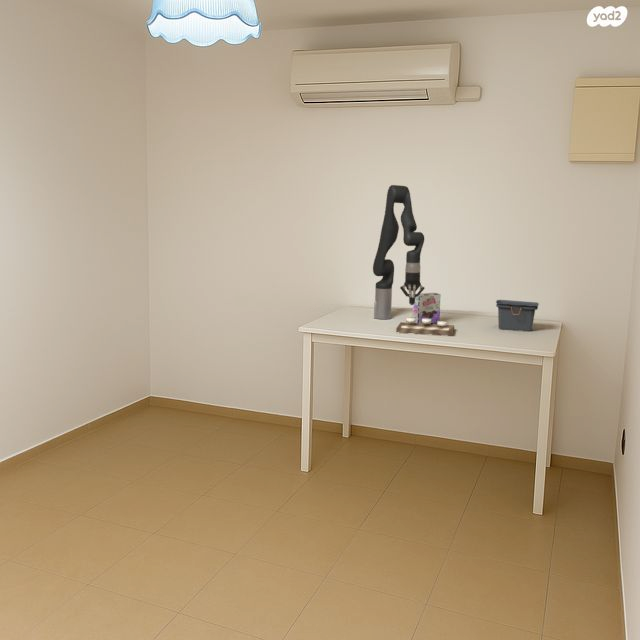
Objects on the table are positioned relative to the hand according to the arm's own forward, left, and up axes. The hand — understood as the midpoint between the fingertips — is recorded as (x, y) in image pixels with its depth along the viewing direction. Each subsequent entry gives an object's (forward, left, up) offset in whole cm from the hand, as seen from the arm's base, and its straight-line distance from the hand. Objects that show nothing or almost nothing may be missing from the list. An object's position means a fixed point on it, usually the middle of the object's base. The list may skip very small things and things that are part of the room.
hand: (411, 304), depth 347 cm
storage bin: (+53, +16, -13) cm, 57 cm away
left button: (0, 0, -9) cm, 9 cm away
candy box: (+6, +20, -13) cm, 25 cm away
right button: (+16, 0, -10) cm, 19 cm away
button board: (+8, -3, -13) cm, 15 cm away
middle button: (+8, 0, -9) cm, 12 cm away
